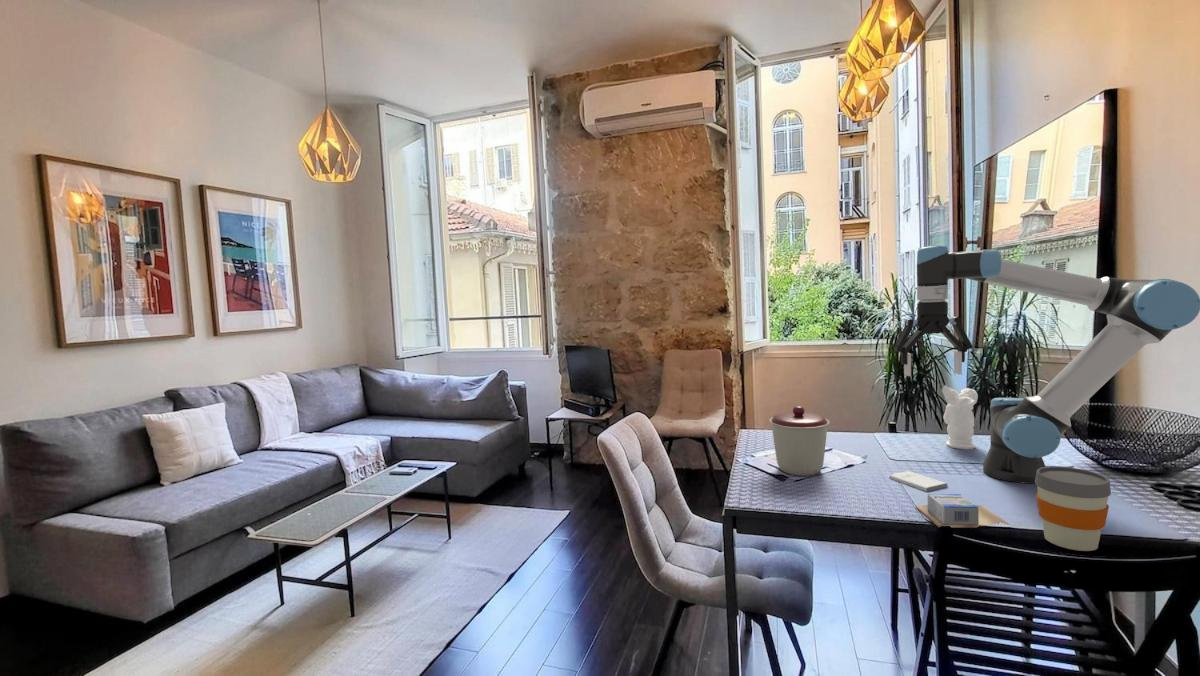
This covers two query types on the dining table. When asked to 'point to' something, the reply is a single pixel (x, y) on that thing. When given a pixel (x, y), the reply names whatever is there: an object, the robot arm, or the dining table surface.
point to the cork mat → (984, 519)
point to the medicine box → (953, 509)
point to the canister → (799, 441)
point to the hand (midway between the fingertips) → (932, 374)
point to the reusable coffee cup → (1072, 506)
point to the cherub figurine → (960, 417)
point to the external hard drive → (918, 481)
